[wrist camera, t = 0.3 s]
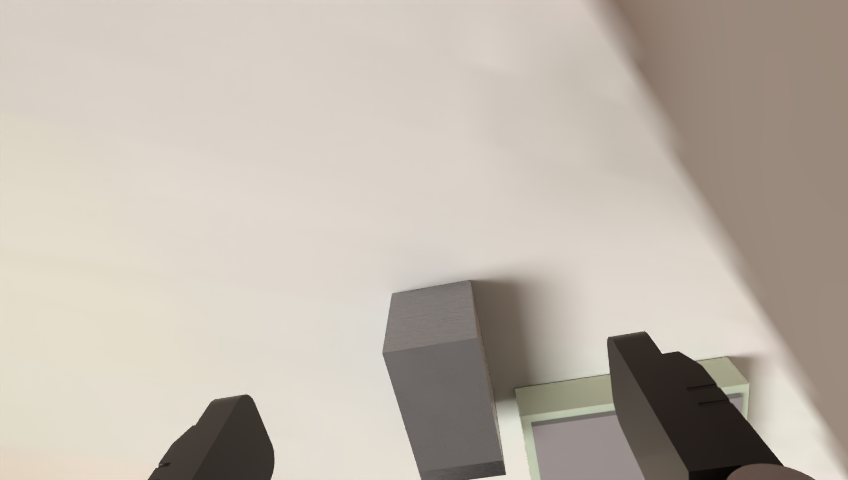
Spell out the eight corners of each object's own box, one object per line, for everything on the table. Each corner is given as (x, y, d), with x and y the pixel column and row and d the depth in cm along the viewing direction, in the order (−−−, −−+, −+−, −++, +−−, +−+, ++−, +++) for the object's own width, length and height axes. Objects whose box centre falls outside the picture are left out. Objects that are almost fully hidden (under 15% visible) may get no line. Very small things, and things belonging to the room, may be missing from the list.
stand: (514, 388, 34) (521, 421, 31) (726, 356, 33) (753, 388, 30) (538, 522, 40) (546, 560, 37) (720, 501, 38) (742, 538, 35)
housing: (391, 293, 31) (382, 353, 26) (470, 279, 31) (477, 337, 25) (425, 412, 35) (423, 485, 30) (495, 402, 35) (505, 474, 29)
